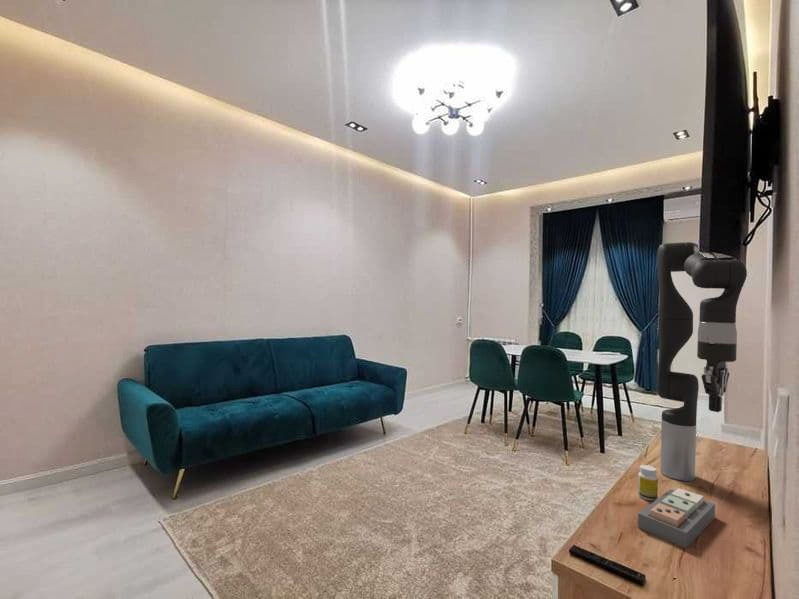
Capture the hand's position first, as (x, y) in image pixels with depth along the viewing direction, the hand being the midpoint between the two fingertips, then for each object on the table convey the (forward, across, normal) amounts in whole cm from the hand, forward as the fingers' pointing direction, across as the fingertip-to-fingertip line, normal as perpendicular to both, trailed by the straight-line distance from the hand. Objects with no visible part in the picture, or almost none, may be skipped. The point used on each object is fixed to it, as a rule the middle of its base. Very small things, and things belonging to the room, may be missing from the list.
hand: (715, 411), depth 97 cm
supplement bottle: (+29, -5, -16) cm, 34 cm away
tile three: (+27, +10, -6) cm, 30 cm away
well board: (+29, +3, -6) cm, 30 cm away
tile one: (+27, -4, -6) cm, 28 cm away
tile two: (+27, +3, -6) cm, 28 cm away
